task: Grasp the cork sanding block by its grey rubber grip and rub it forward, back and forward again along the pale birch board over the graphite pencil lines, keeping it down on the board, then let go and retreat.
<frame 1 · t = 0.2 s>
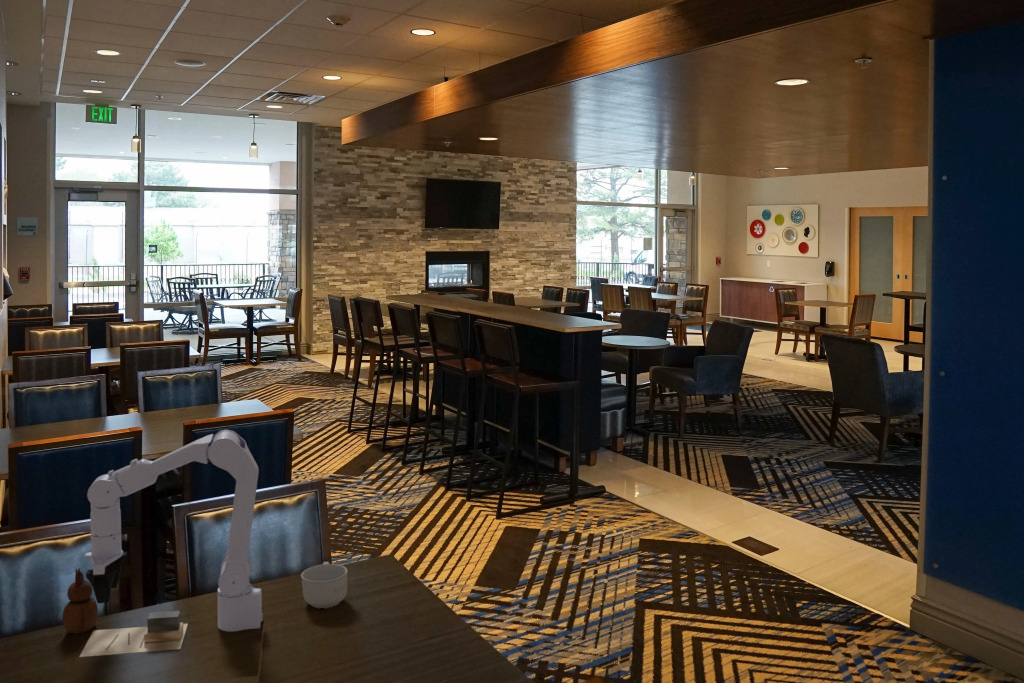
hand: (107, 594, 173), 10 cm above the table, tool pointing down, fingers open, 7 cm apart
teacup: (325, 601, 198), on the table
board: (136, 644, 173), on the table
sanding block: (164, 637, 174), point 1 cm above the table, touching board
wooden figurine: (80, 633, 177), on the table
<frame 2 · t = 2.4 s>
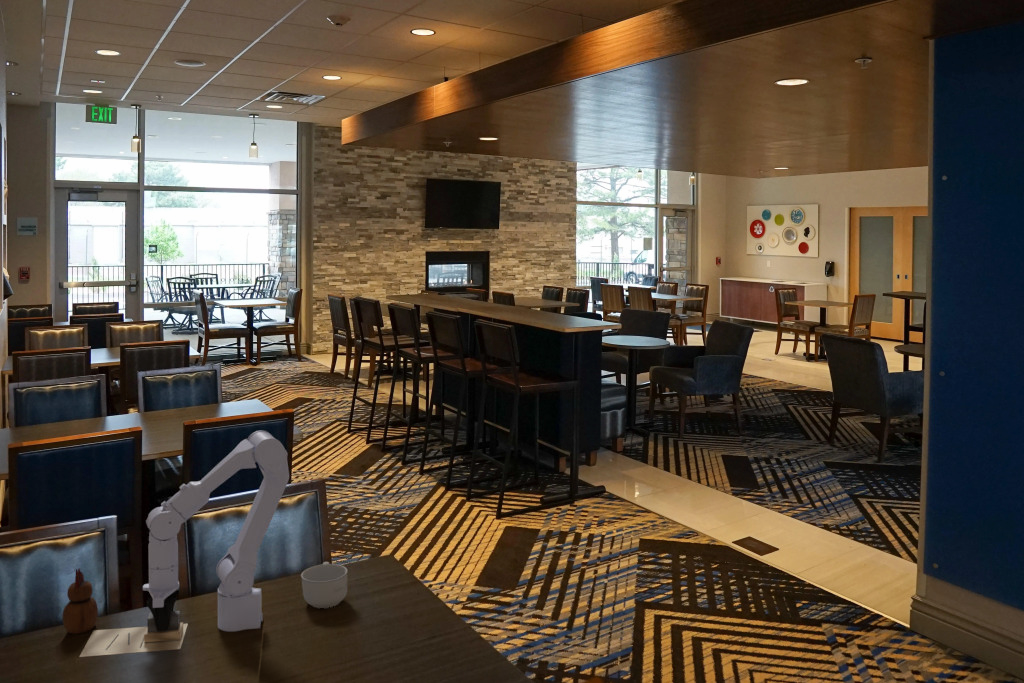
hand: (164, 626, 174), 4 cm above the table, tool pointing down, fingers closed on sanding block, 3 cm apart
sanding block: (164, 637, 174), point 1 cm above the table, touching board, gripper
everything else where it was.
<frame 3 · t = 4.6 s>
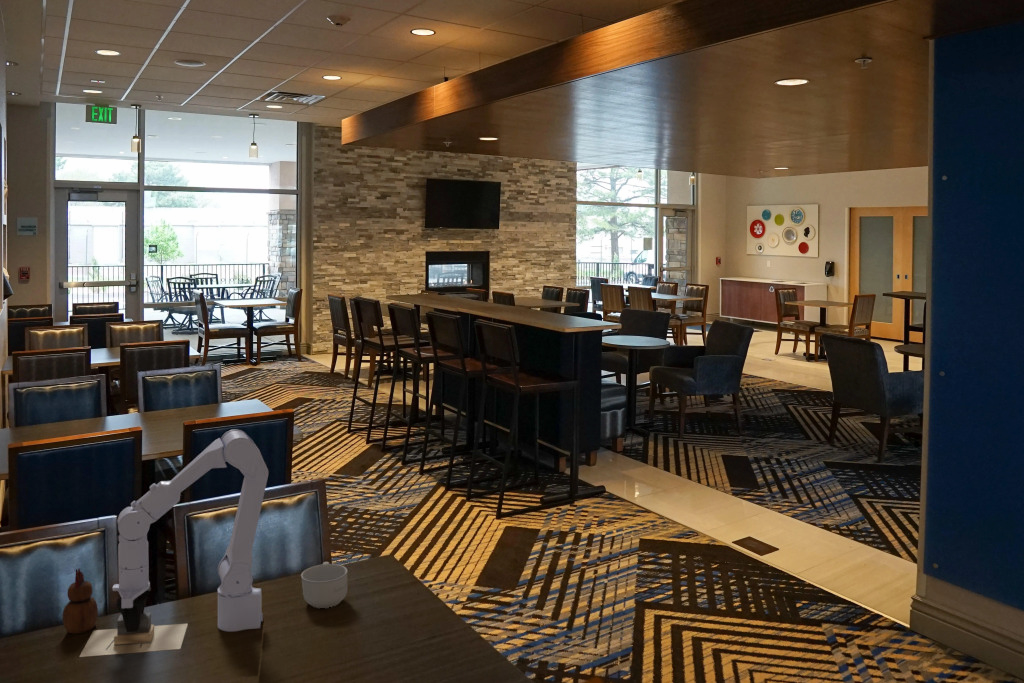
hand: (134, 627, 172), 4 cm above the table, tool pointing down, fingers closed on sanding block, 3 cm apart
sanding block: (134, 639, 172), point 1 cm above the table, touching gripper
everything else where it was.
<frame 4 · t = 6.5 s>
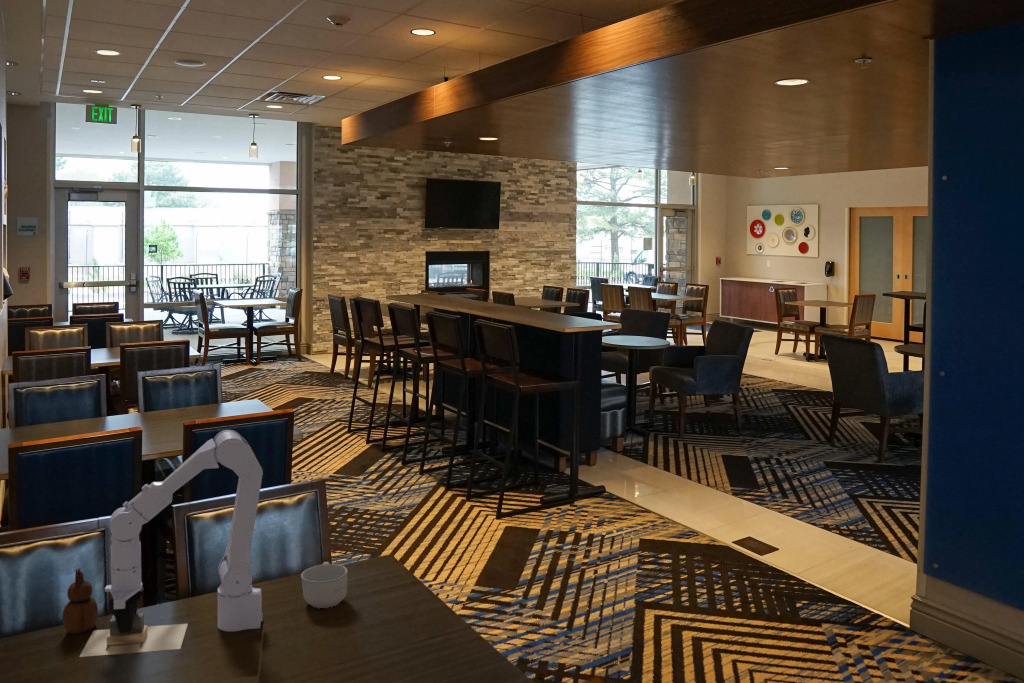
hand: (127, 628, 172), 4 cm above the table, tool pointing down, fingers closed on sanding block, 3 cm apart
sanding block: (127, 640, 172), point 1 cm above the table, touching gripper
everything else where it was.
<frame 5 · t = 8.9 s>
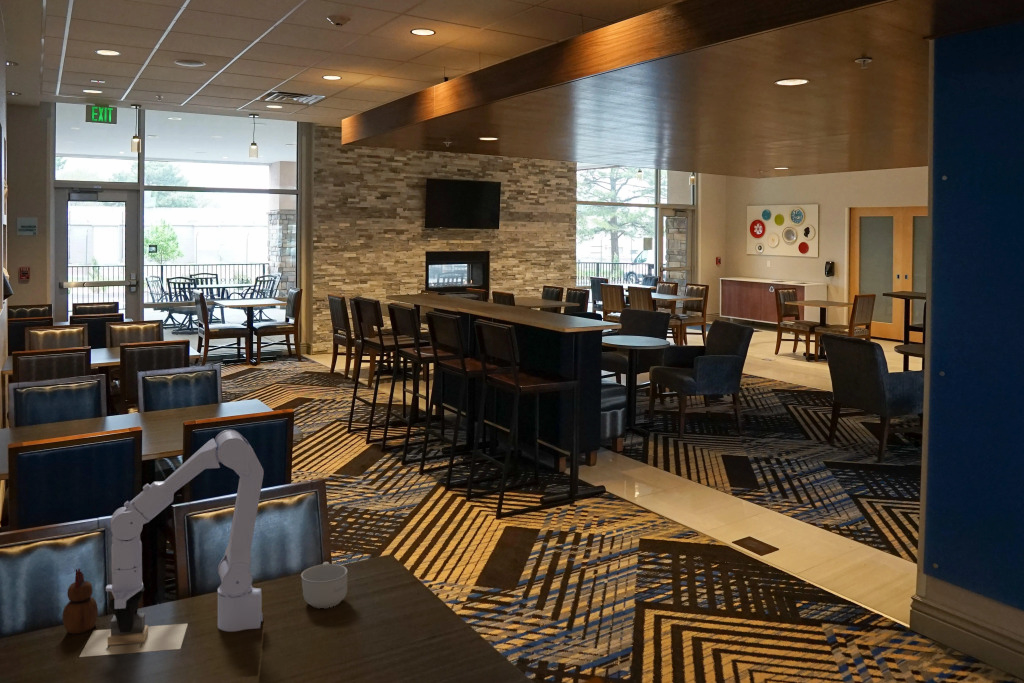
hand: (127, 627, 172), 4 cm above the table, tool pointing down, fingers closed on sanding block, 3 cm apart
sanding block: (128, 640, 172), point 1 cm above the table, touching gripper
everything else where it was.
when the fingers open (4 cm above the table, at t = 10.8 s): sanding block stays where it is, resting on board.
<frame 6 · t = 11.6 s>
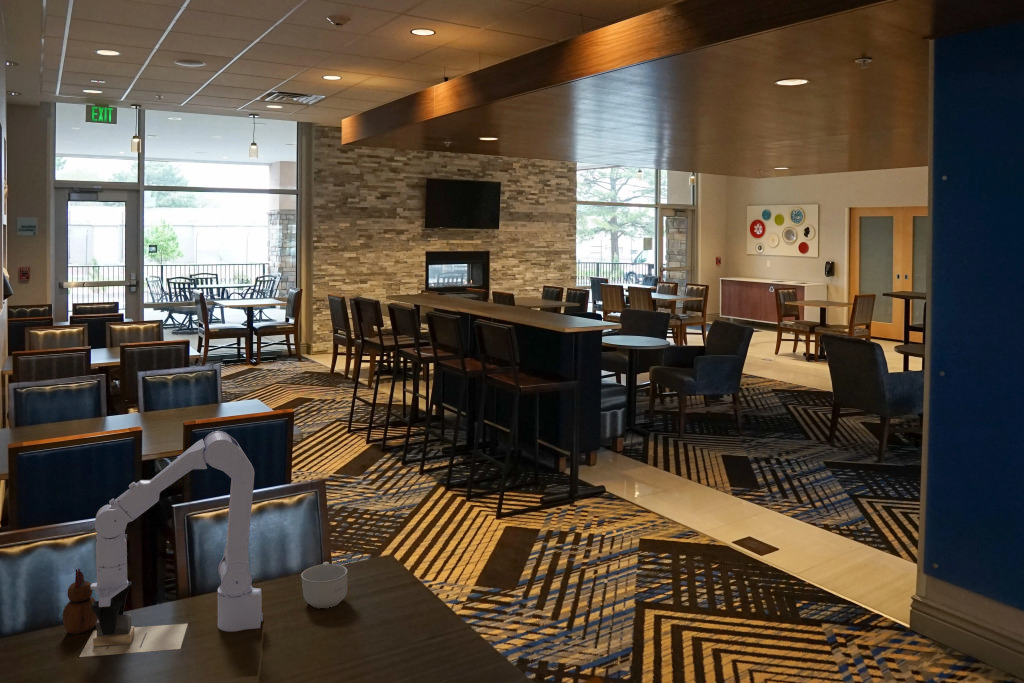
hand: (112, 625, 171), 5 cm above the table, tool pointing down, fingers open, 7 cm apart
sanding block: (114, 641, 171), point 1 cm above the table, touching board
everything else where it was.
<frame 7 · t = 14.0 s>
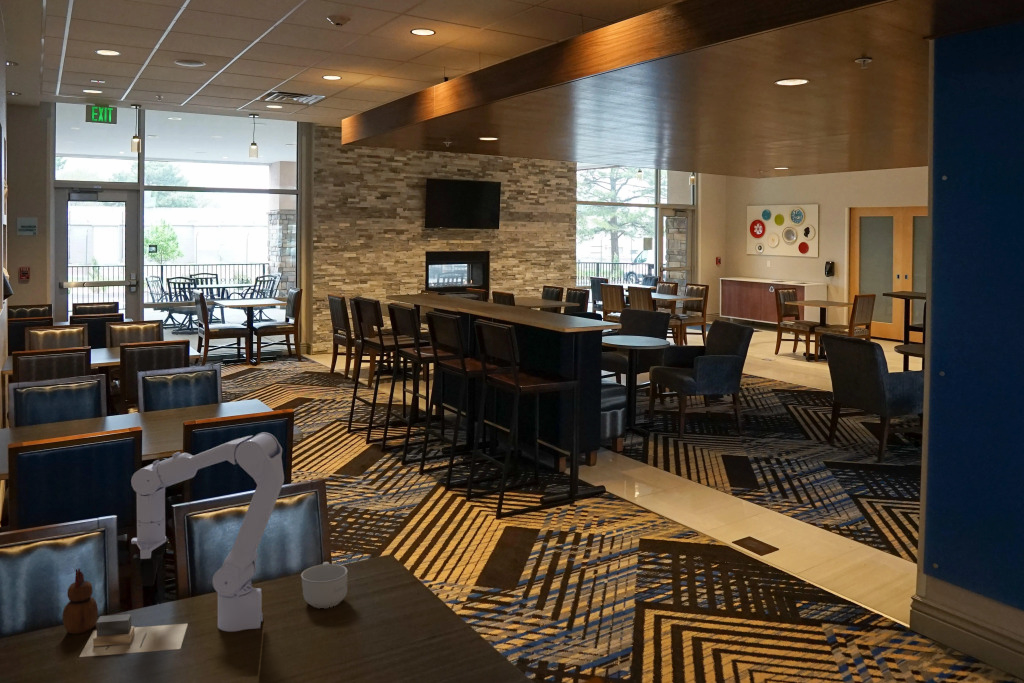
hand: (151, 578, 182), 10 cm above the table, tool pointing down, fingers open, 7 cm apart
nothing on the table moved.
at the end: sanding block inside the target area on the board (0.7 cm from its centre), point 1.2 cm above the board's base; sanding block tilted 0°; sanding block moved 9.7 cm from its start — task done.
